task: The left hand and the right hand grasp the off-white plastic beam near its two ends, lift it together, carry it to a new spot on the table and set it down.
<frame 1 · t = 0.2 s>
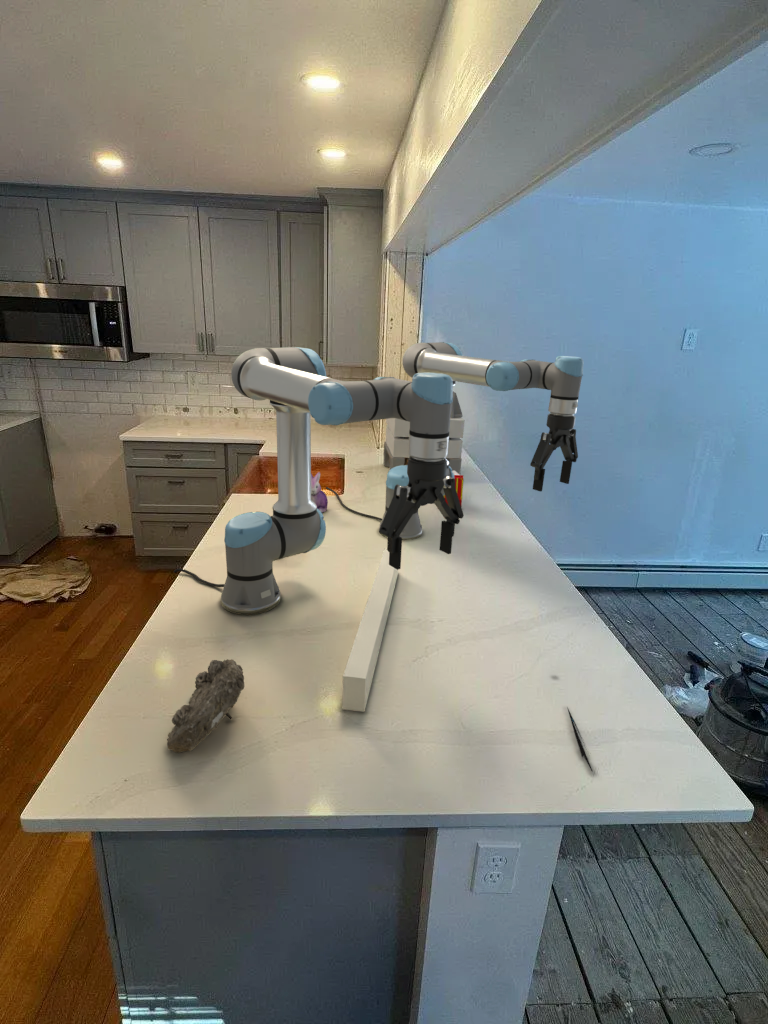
left hand: (420, 559, 115), 27 cm above the counter, tool pointing down, fingers open, 13 cm apart
right hand: (551, 486, 166), 28 cm above the counter, tool pointing down, fingers open, 13 cm apart
beam: (375, 627, 141), on the counter
feather: (570, 720, 112), on the counter
figurine: (316, 510, 219), on the counter
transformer: (419, 473, 275), on the counter
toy: (445, 498, 240), on the counter
fossil: (212, 717, 108), on the counter
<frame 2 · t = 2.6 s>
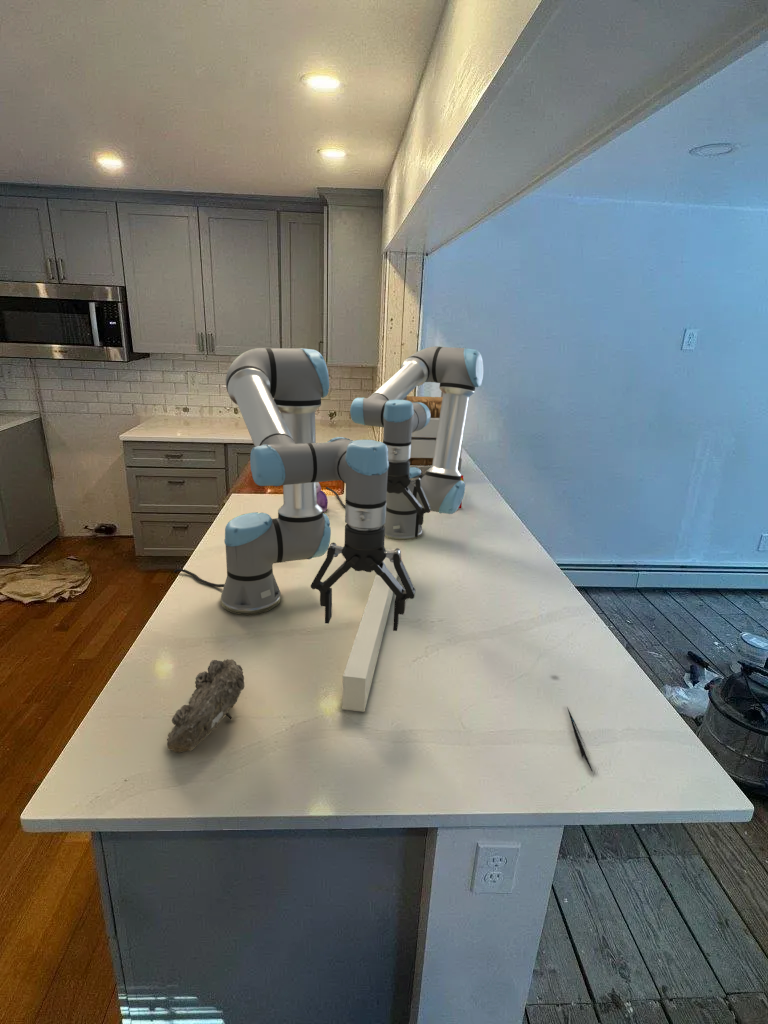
left hand: (361, 623, 113), 16 cm above the counter, tool pointing down, fingers open, 13 cm apart
right hand: (392, 533, 158), 16 cm above the counter, tool pointing down, fingers open, 13 cm apart
nothing on the counter moved.
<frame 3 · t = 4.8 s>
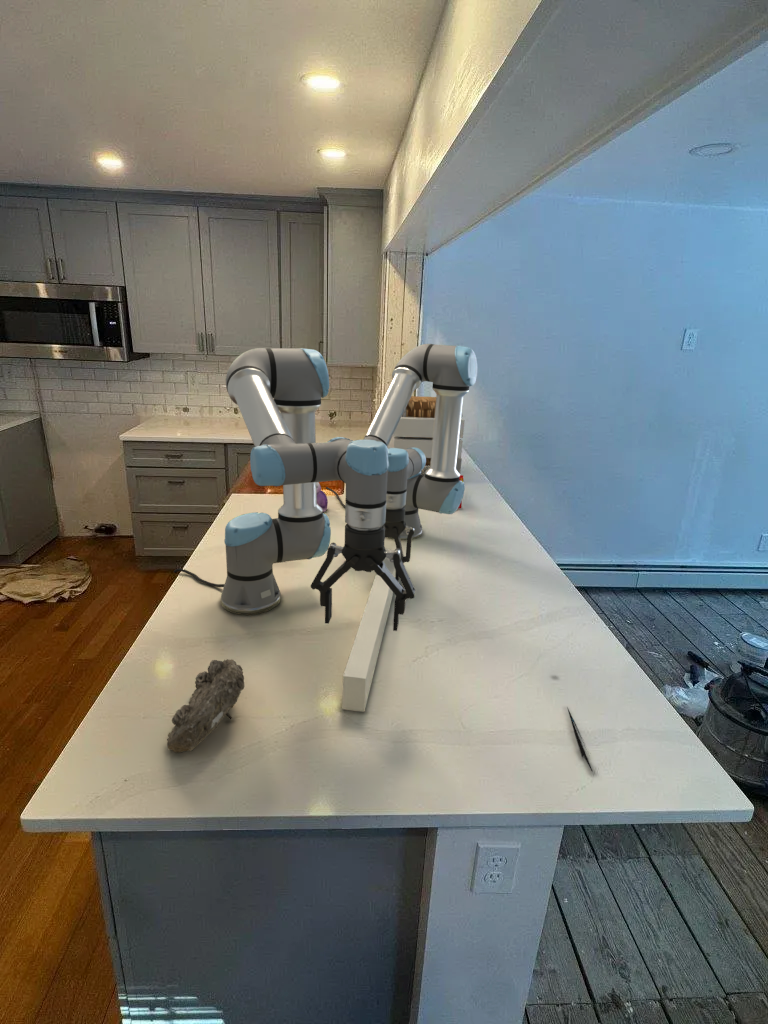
left hand: (361, 623, 113), 16 cm above the counter, tool pointing down, fingers open, 13 cm apart
right hand: (387, 581, 163), 1 cm above the counter, tool pointing down, fingers closed on beam, 4 cm apart
beam: (375, 627, 141), on the counter, touching right hand
everything else where it was.
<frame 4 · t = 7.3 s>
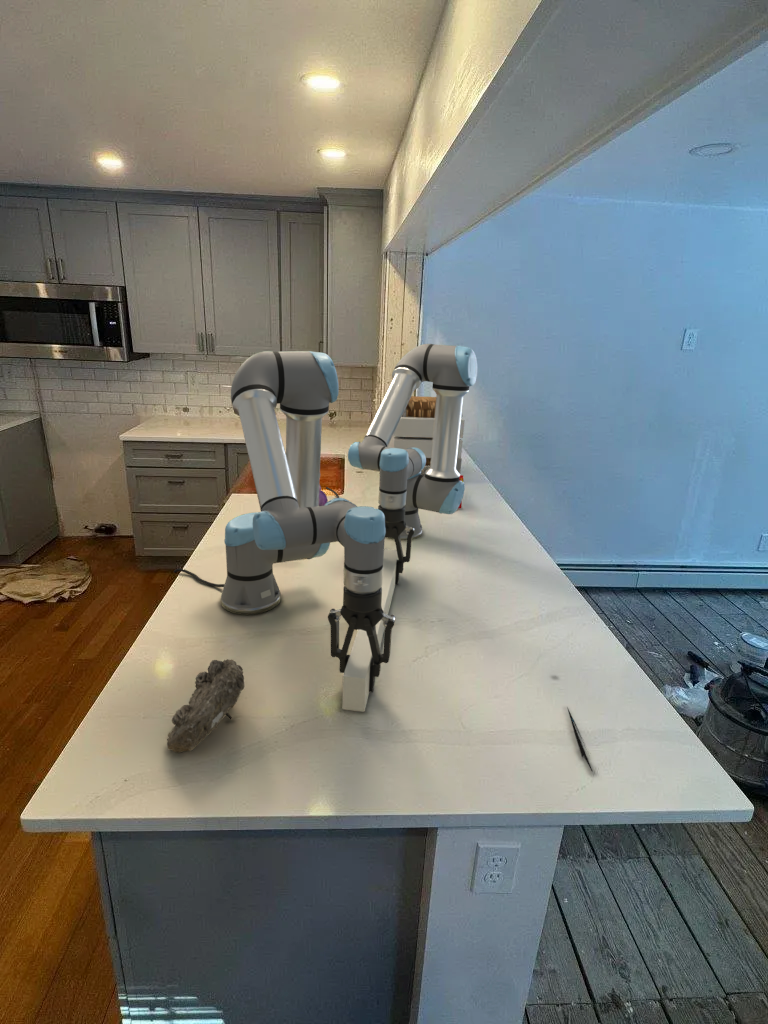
left hand: (359, 686, 118), 1 cm above the counter, tool pointing down, fingers closed on beam, 4 cm apart
right hand: (387, 581, 163), 1 cm above the counter, tool pointing down, fingers closed on beam, 4 cm apart
beam: (375, 627, 141), on the counter, touching right hand, left hand
everything else where it was.
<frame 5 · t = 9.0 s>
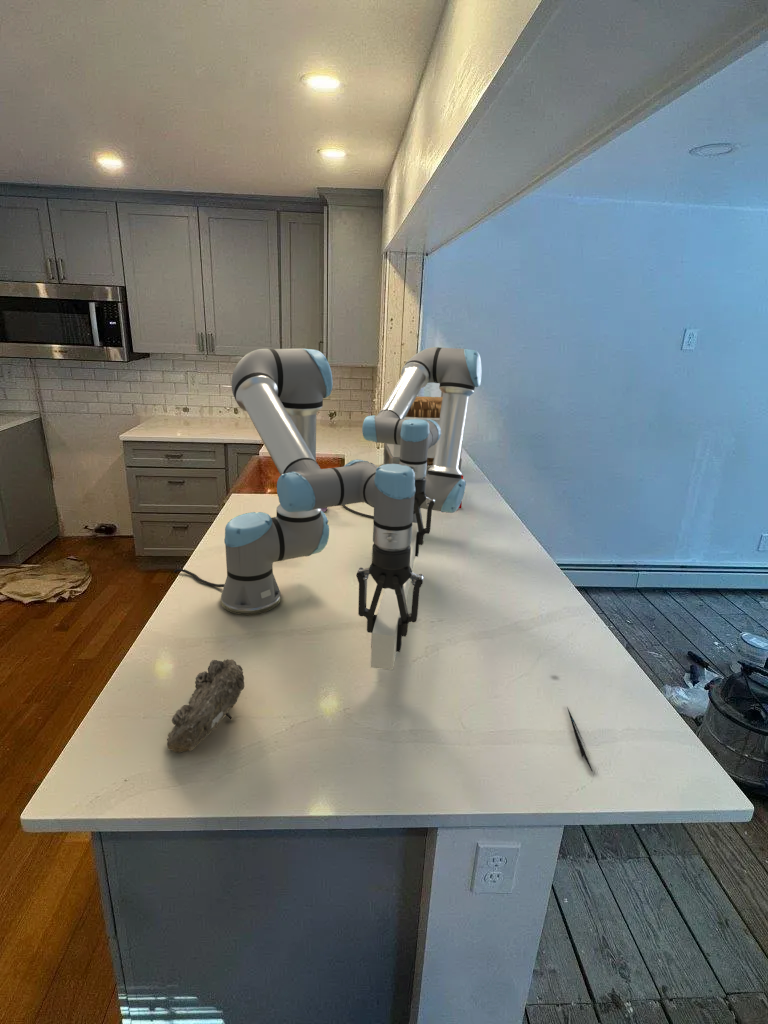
left hand: (386, 646, 118), 8 cm above the counter, tool pointing down, fingers closed on beam, 4 cm apart
right hand: (407, 553, 164), 8 cm above the counter, tool pointing down, fingers closed on beam, 4 cm apart
beam: (398, 595, 141), point 8 cm above the counter, touching right hand, left hand
everything else where it was.
when the left hand's fingers open (2 cm above the counter, at t = 10.8 s): beam stays where it is, on the counter.
when the right hand's fingers open (2 cm above the counter, at t = 10.9 s): beam stays where it is, on the counter.
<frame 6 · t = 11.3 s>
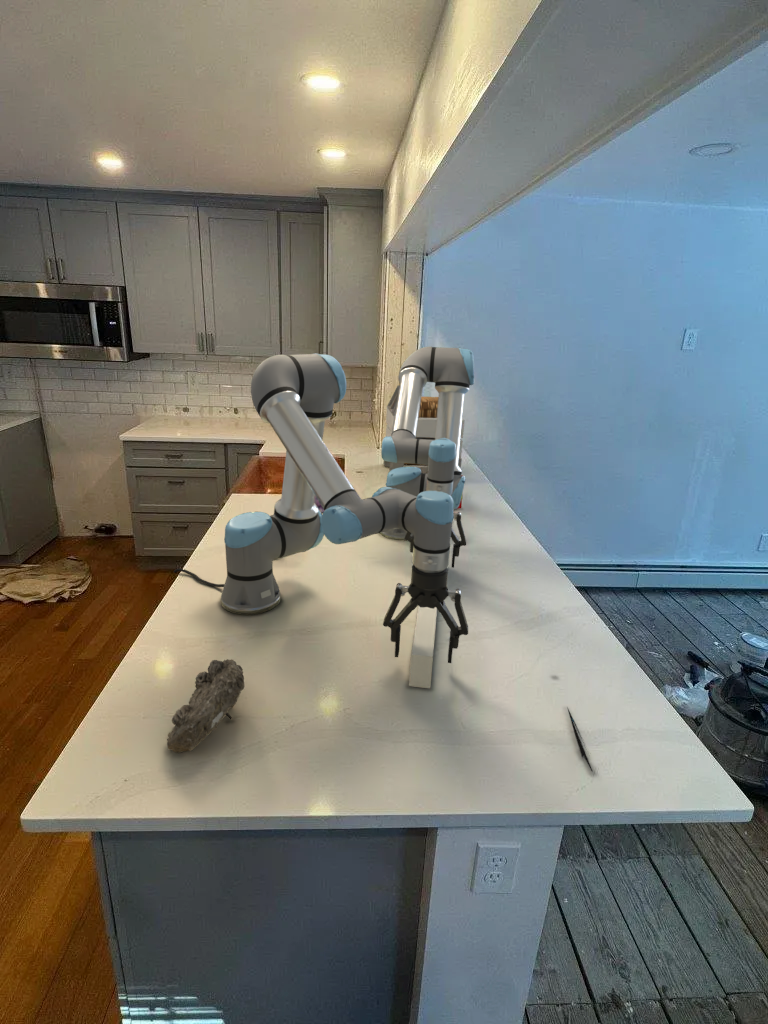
left hand: (423, 656, 125), 3 cm above the counter, tool pointing down, fingers open, 11 cm apart
right hand: (433, 564, 170), 3 cm above the counter, tool pointing down, fingers open, 11 cm apart
beam: (428, 613, 148), on the counter
everything else where it was.
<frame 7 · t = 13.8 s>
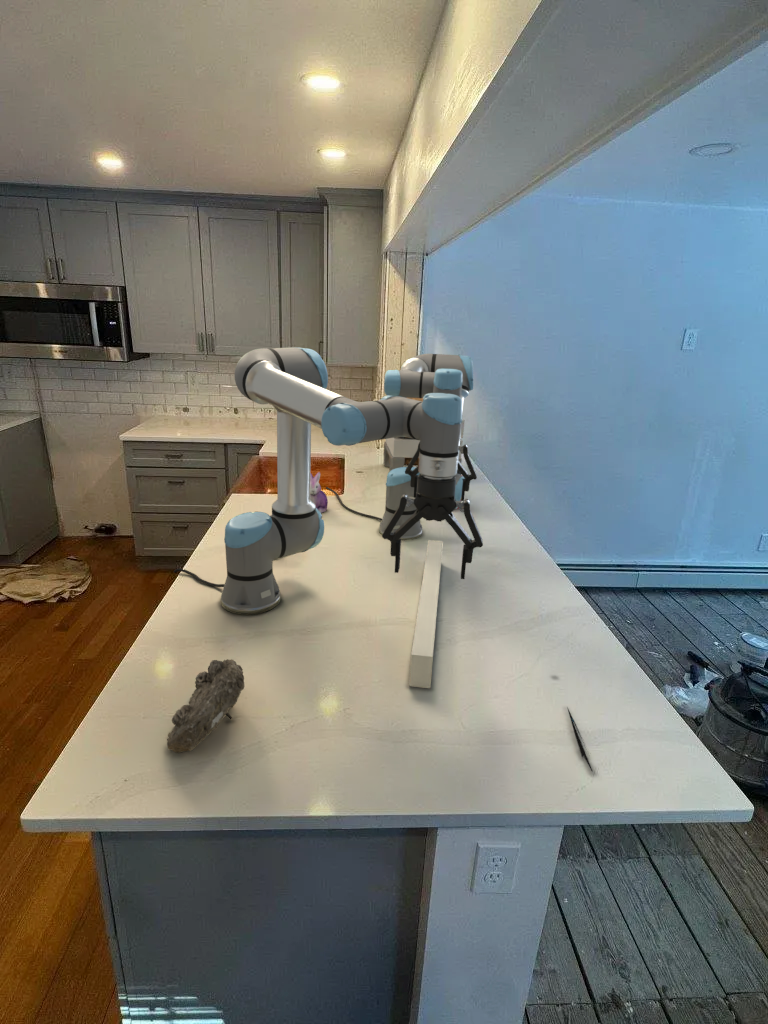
left hand: (429, 573, 118), 23 cm above the counter, tool pointing down, fingers open, 13 cm apart
right hand: (438, 499, 163), 23 cm above the counter, tool pointing down, fingers open, 13 cm apart
nothing on the counter moved.
at the end: beam inside the target area (0.2 cm from its centre), on the counter; beam tilted 0°; beam never tilted more than 1° during the clip; both hands held the beam at the same time; the left hand is holding nothing; the right hand is holding nothing; beam at rest at the end (0.0 cm/s) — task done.
